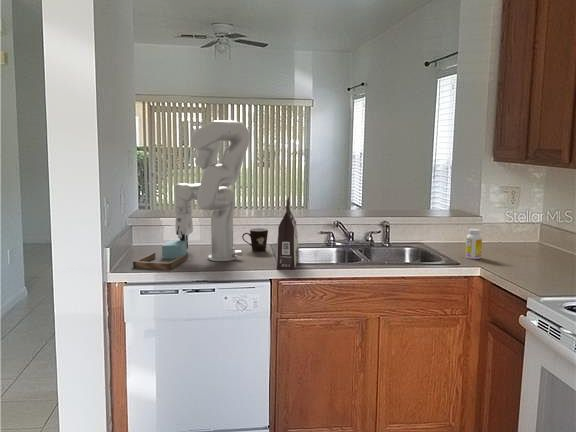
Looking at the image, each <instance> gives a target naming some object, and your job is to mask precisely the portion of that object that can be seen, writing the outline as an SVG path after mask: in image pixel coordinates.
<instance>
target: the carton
mask: <svg viewBox="0 0 576 432" xmlns="http://www.w3.org/2000/svg"><path fill="white" fill-rule="evenodd" d="M187 241H188V240H187ZM187 241H180V240H175V239H174V240H171V239H170V240H167V241H166V242H164V243H163V244H162V245H161V258H162V259H170V260H171V259H173V260H175V259H174V258H178V257H180V256H182V255H184V254H188V253H187V252H188V249H187Z"/></svg>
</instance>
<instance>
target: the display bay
mask: <svg viewBox="0 0 576 432" xmlns="http://www.w3.org/2000/svg"><path fill="white" fill-rule="evenodd" d="M154 259H155V260H156V252H151V253H148V254H146V255H145V256H142V257H140V258H138V259H136V260H134V261H132V268H134V269H146V270H147V269H149V270H167V271H171V270H172V269H174V268H176V267H177V266H180V265H181V264H182V263H184V262H186V261H188V253H186V254H184V255H182V256H180V257H178V258H176V259H173V260H171V261H169V262H161V261H160V262H159V261H158V262H157V261H153V260H154Z"/></svg>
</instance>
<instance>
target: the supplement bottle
mask: <svg viewBox="0 0 576 432" xmlns="http://www.w3.org/2000/svg"><path fill="white" fill-rule="evenodd" d="M468 232H469V233H468V234H467V235H466V239H465V258H467V259H469V260H470V259H471V260H480V259H481V258H482V245H483V237H482V236H481V235H480V234H481V230H480V229H477V228H469V229H468Z"/></svg>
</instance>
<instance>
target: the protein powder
mask: <svg viewBox="0 0 576 432" xmlns="http://www.w3.org/2000/svg"><path fill="white" fill-rule="evenodd" d="M277 229H278V231H277V241H276V251H275V254H276V255H275V257H276V258H275V260H276V261H275V262H276V264H275V265H276V270H296V267H297V261H298V258H299V235H298V229H297V221H296V219H295V218H294V215H293V213H292V210H291V208H290V196H288V198H287V200H286V205H285V213H284V215H283V217H282V219H281V221H280V222H279V225H278V228H277Z"/></svg>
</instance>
